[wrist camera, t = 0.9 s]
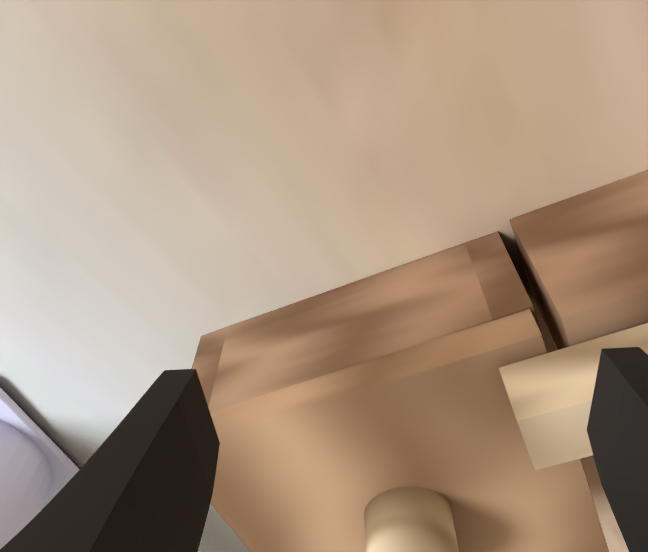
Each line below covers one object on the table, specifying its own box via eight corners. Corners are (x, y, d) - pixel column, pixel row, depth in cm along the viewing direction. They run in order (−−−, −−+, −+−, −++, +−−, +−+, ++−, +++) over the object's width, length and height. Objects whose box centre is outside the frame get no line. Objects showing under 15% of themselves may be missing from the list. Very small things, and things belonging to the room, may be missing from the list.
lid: (319, 604, 26) (317, 716, 23) (174, 423, 20) (141, 535, 17) (602, 540, 23) (650, 655, 20) (529, 309, 18) (579, 415, 14)
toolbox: (322, 512, 30) (320, 602, 26) (201, 336, 24) (176, 420, 20) (566, 447, 27) (604, 538, 23) (497, 231, 21) (532, 305, 18)
